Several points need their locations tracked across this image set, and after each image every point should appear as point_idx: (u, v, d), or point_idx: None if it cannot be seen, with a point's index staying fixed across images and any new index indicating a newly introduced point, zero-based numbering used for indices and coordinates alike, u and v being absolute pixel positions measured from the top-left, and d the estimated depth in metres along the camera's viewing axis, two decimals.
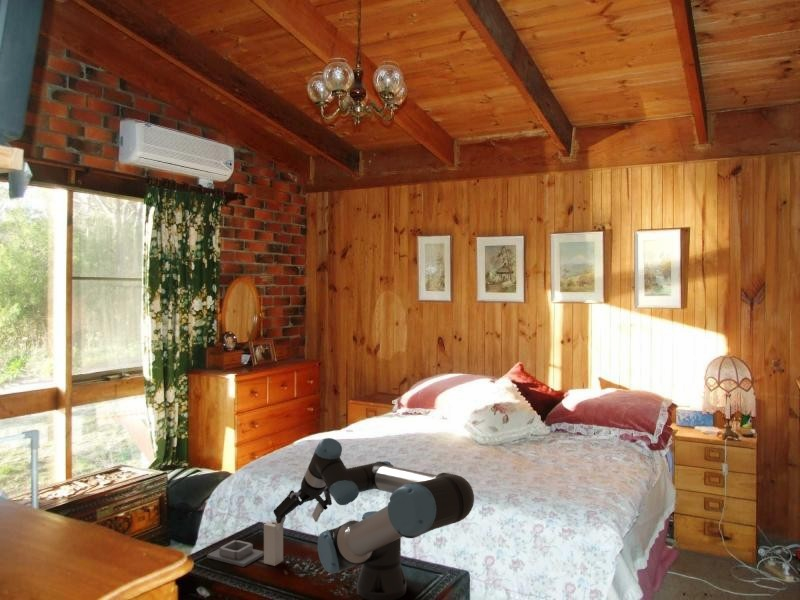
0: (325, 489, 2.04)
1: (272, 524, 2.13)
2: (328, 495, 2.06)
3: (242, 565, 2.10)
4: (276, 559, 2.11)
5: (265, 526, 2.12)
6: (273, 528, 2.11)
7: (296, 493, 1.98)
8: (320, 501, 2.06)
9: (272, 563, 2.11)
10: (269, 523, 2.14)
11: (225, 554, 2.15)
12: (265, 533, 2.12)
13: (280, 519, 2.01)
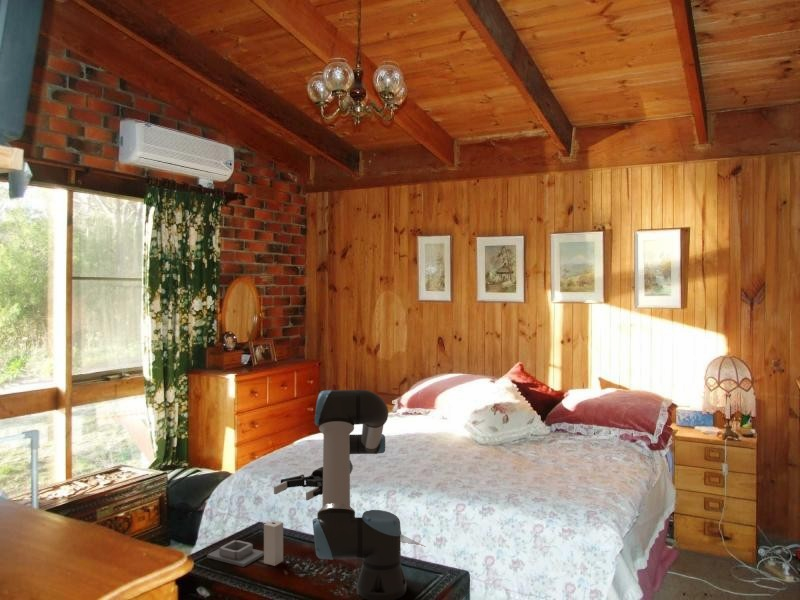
0: None
1: (272, 524, 2.13)
2: None
3: (242, 565, 2.10)
4: (276, 559, 2.11)
5: (265, 526, 2.12)
6: (273, 528, 2.11)
7: None
8: (319, 483, 2.29)
9: (272, 563, 2.11)
10: (269, 523, 2.14)
11: (225, 554, 2.15)
12: (265, 533, 2.12)
13: None
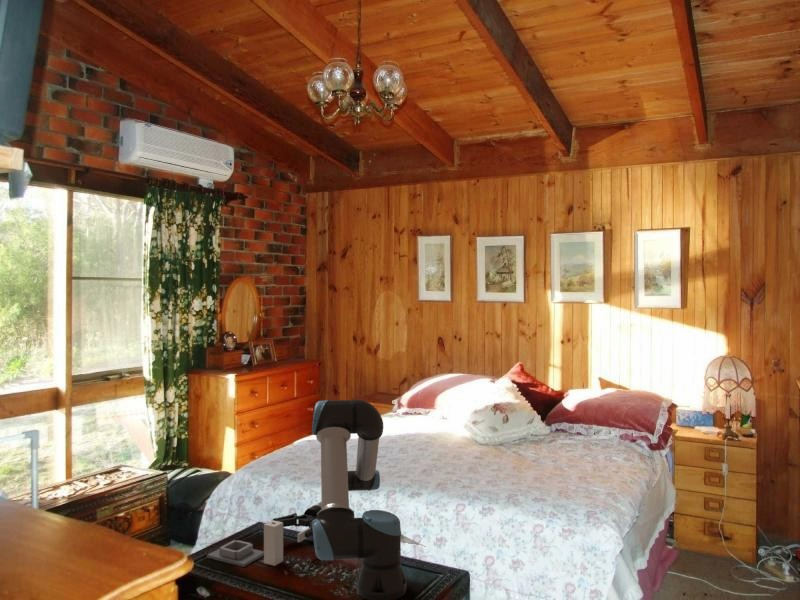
0: None
1: (272, 524, 2.13)
2: None
3: (242, 565, 2.10)
4: (276, 559, 2.11)
5: (265, 526, 2.12)
6: (273, 528, 2.11)
7: None
8: (311, 523, 2.26)
9: (272, 563, 2.11)
10: (269, 523, 2.14)
11: (225, 554, 2.15)
12: (265, 533, 2.12)
13: None
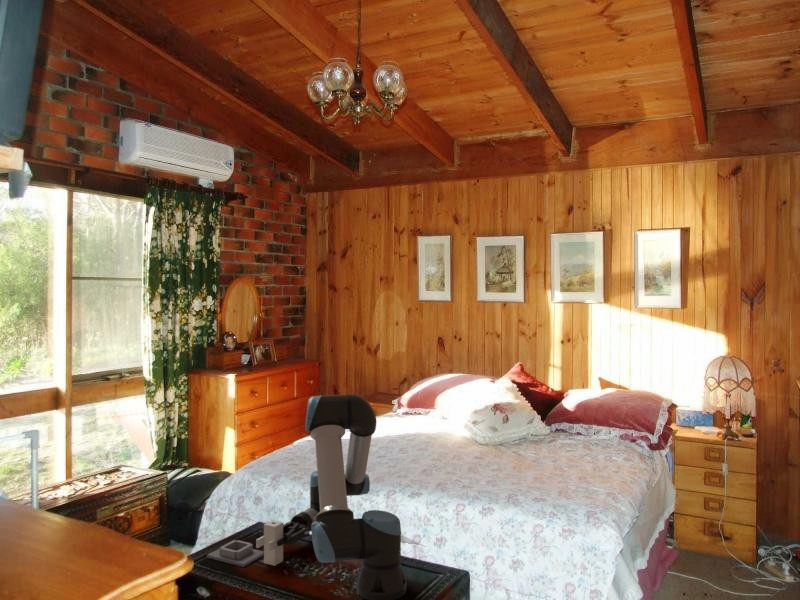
0: None
1: (272, 524, 2.13)
2: (301, 530, 2.19)
3: (242, 565, 2.10)
4: (276, 559, 2.11)
5: (265, 526, 2.12)
6: (273, 528, 2.11)
7: None
8: (290, 531, 2.18)
9: (272, 563, 2.11)
10: (269, 523, 2.14)
11: (225, 554, 2.15)
12: (265, 533, 2.12)
13: None
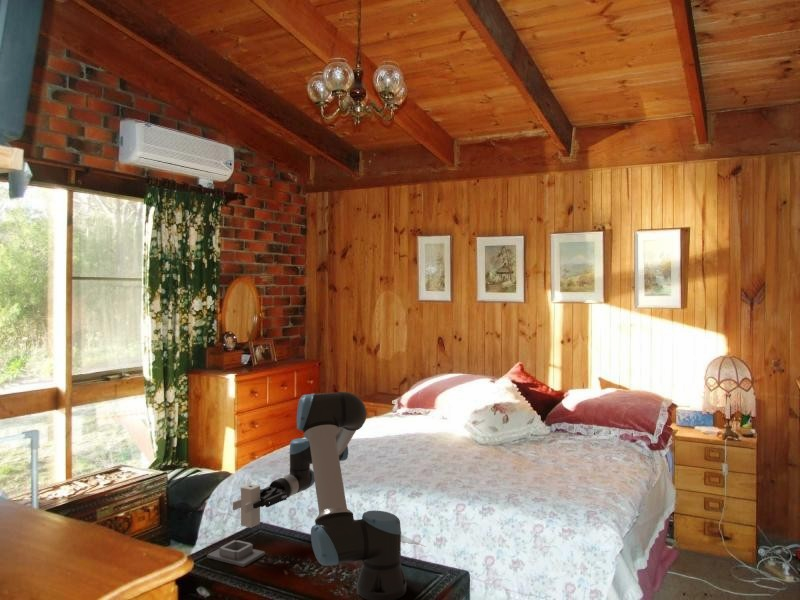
0: None
1: (249, 487, 2.17)
2: (278, 494, 2.22)
3: (242, 565, 2.10)
4: (252, 521, 2.15)
5: (242, 489, 2.16)
6: (250, 491, 2.15)
7: None
8: (268, 495, 2.22)
9: (249, 525, 2.15)
10: (246, 486, 2.18)
11: (225, 554, 2.15)
12: (242, 496, 2.16)
13: None
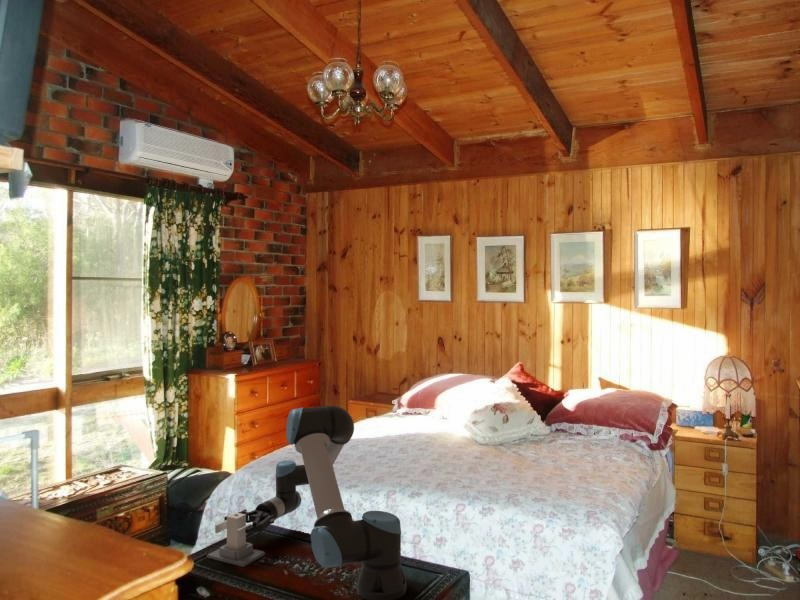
0: None
1: (235, 516, 2.17)
2: (267, 518, 2.23)
3: (242, 565, 2.10)
4: None
5: (228, 518, 2.17)
6: (235, 520, 2.15)
7: None
8: (257, 519, 2.23)
9: None
10: (232, 515, 2.18)
11: (225, 554, 2.15)
12: (228, 525, 2.17)
13: None
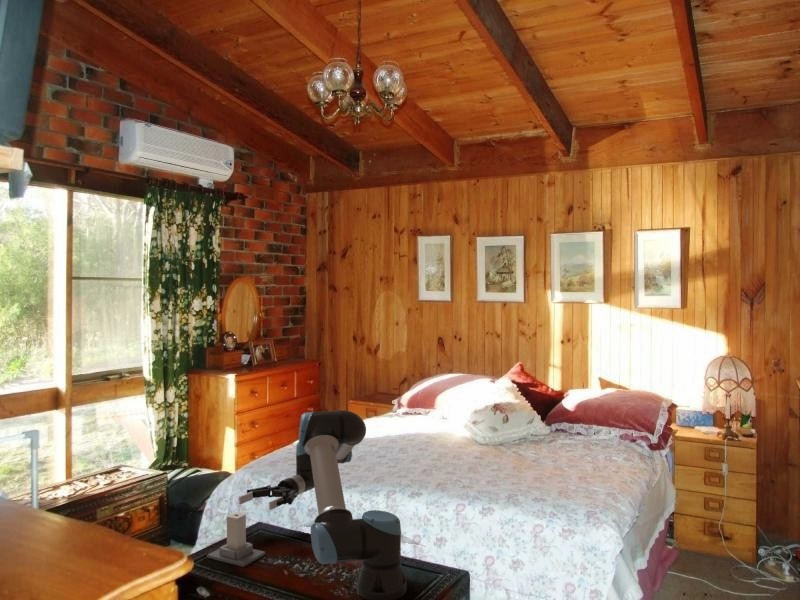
0: None
1: (235, 516, 2.17)
2: (292, 492, 2.36)
3: (242, 565, 2.10)
4: None
5: (228, 518, 2.17)
6: (235, 520, 2.15)
7: None
8: (284, 493, 2.35)
9: None
10: (232, 515, 2.18)
11: (225, 554, 2.15)
12: (228, 525, 2.17)
13: None
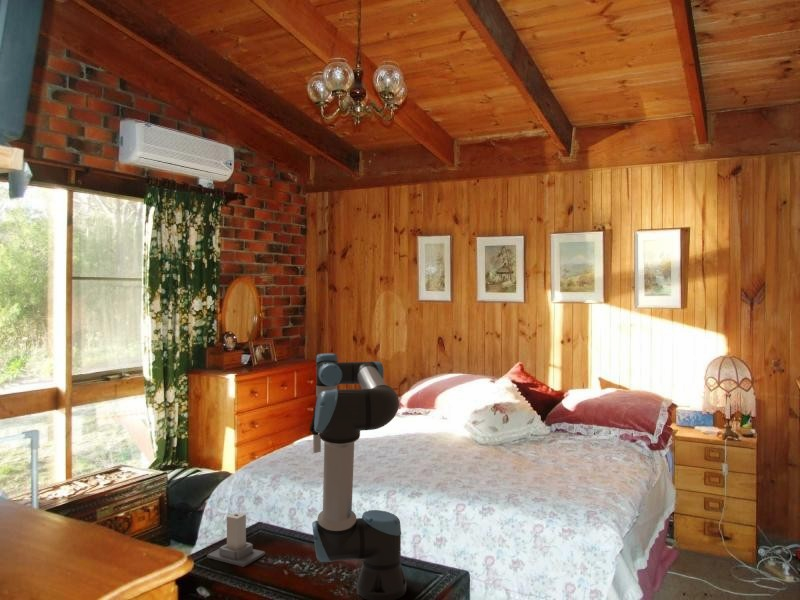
0: None
1: (235, 516, 2.17)
2: None
3: (242, 565, 2.10)
4: None
5: (228, 518, 2.17)
6: (235, 520, 2.15)
7: None
8: None
9: None
10: (232, 515, 2.18)
11: (225, 554, 2.15)
12: (228, 525, 2.17)
13: None
